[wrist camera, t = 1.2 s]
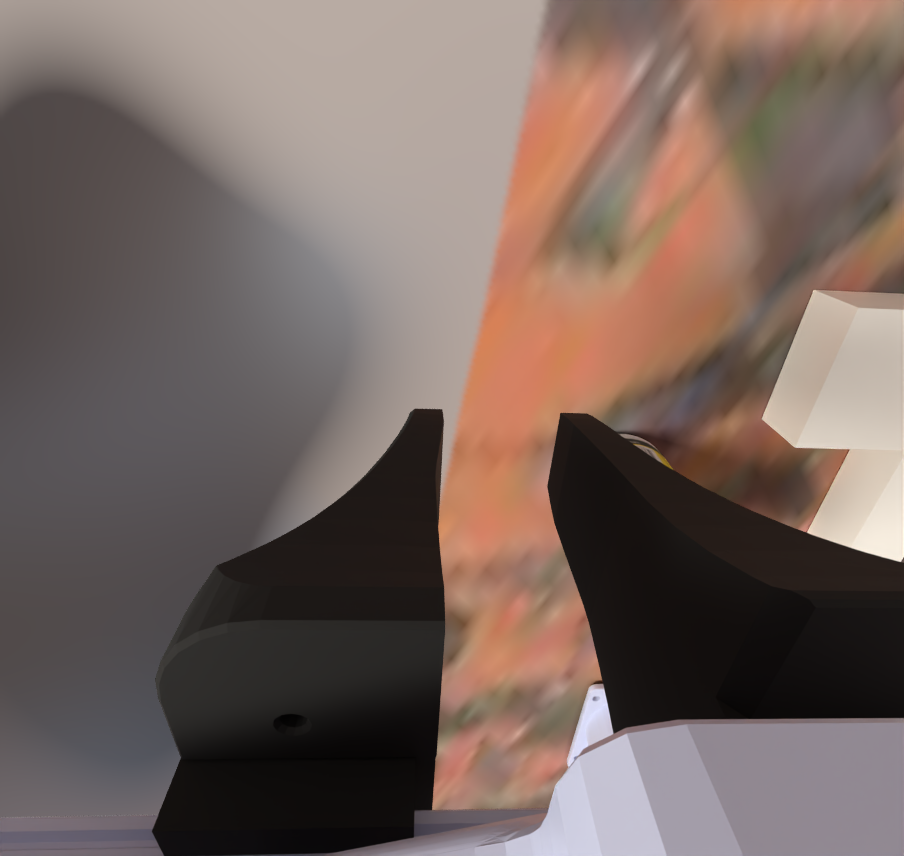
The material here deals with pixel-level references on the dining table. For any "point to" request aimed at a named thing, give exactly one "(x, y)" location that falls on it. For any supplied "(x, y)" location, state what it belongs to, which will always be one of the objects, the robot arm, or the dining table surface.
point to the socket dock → (850, 413)
